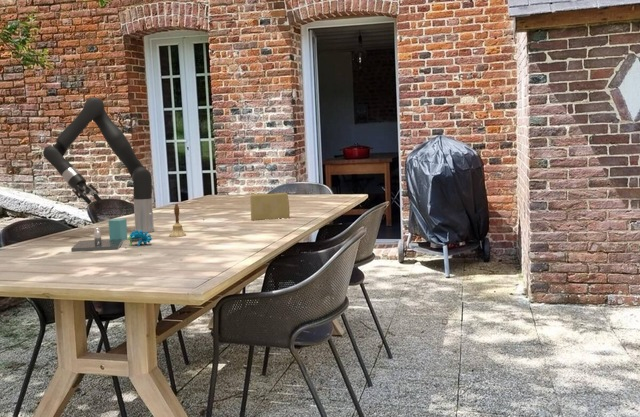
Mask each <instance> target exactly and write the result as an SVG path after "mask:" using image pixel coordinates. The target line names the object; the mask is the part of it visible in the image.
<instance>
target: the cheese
mask: <svg viewBox="0 0 640 417" xmlns="http://www.w3.org/2000/svg"><path fill="white" fill-rule="evenodd" d="M249 197H250V199H249V200H250V220H251V221H262V220H263V221H266V220H265V219H269V220H279V219H278V218H289V219H290V214H291V213H290V212H291V211H290V202H289V201H290V200H289V194H288V193H287V192H279V193H278V192H276V193H250V196H249Z"/></svg>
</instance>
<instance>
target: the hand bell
mask: <svg viewBox="0 0 640 417" xmlns="http://www.w3.org/2000/svg"><path fill="white" fill-rule="evenodd" d="M178 204H179V203H175V204H174V208H173V212H174V215H175V216H174V217H175V223H174V224H173V225H172V230H171V232H170V234H169V237H171V238H179V237H181V238H182V237H186V236H187V233H185V232H184V230H183V225H182V224H181V223H180V218H179V217H180V207H179V205H178Z"/></svg>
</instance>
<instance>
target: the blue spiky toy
mask: <svg viewBox="0 0 640 417" xmlns="http://www.w3.org/2000/svg"><path fill="white" fill-rule="evenodd" d="M152 238H153V237H152V235H151V234H149V232H143V231H142V230H140V232H138V230H135V229H134V231H133V230H132V231H131V233H130V234H129V236H128V237H127V240H129V242H130V243H129V247H131V246H132V243H137V246H138V247H140V246H141V244H143V245H144V244H145V245H146V244H147V243H151V241H152V240H153V239H152Z"/></svg>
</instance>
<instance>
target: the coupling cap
mask: <svg viewBox="0 0 640 417" xmlns="http://www.w3.org/2000/svg"><path fill="white" fill-rule="evenodd" d="M108 231H109V232H108V233H109V240H112V239H123V241H126V240H128V223H127V218H113V219H108Z"/></svg>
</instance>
